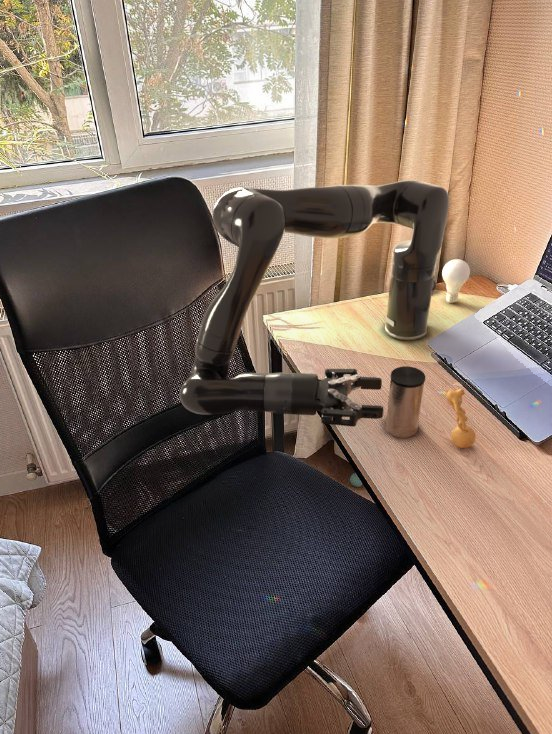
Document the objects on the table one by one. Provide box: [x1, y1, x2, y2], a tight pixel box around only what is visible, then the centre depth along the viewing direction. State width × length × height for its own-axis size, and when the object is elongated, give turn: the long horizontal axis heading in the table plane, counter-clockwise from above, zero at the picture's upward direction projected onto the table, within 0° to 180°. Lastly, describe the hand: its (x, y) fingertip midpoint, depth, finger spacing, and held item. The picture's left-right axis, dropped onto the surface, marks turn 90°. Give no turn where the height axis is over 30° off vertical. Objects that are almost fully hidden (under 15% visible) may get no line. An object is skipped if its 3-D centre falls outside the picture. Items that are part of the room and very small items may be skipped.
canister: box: [385, 365, 426, 439], centre depth 103 cm, size 6×6×12 cm
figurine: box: [445, 388, 477, 449], centre depth 99 cm, size 8×6×12 cm
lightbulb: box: [441, 258, 471, 304], centre depth 142 cm, size 6×6×11 cm
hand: (382, 397), depth 103 cm, fingers open, 8 cm apart
